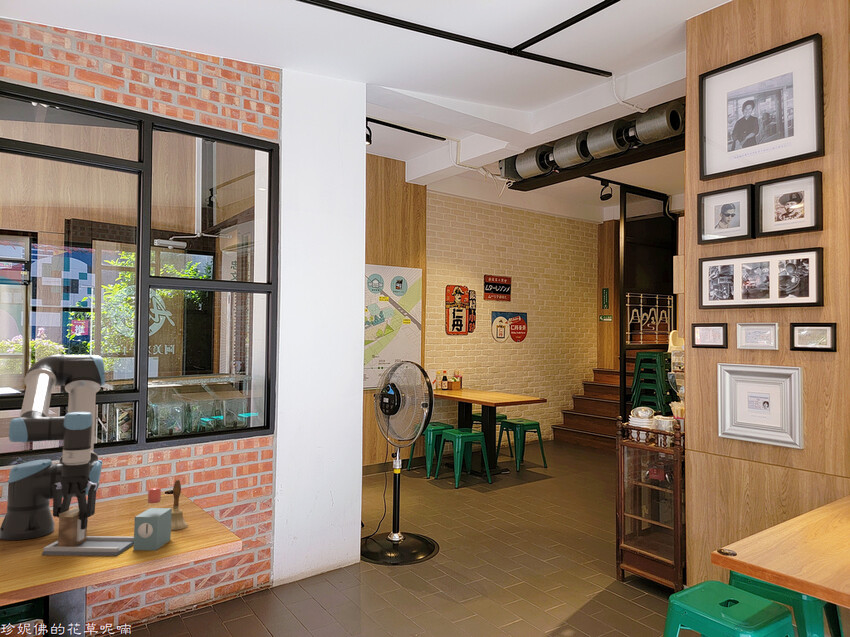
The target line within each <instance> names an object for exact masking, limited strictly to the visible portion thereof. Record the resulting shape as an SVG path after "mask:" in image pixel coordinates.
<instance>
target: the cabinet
mask: <svg viewBox="0 0 850 637" xmlns="http://www.w3.org/2000/svg"><path fill="white" fill-rule="evenodd" d="M172 509H173V507H172V508H171V507H170V508H169V507H168V508H165V507H164V508H163V507H161V508H160V507H150V508H148V509H146V510H144V511H142V512H141V513H139V514H137V515H135V516H134V524H133V525H134V527H133V528H134V529H133V537H134V545H133V551H158V550H159V549H160V548H162V547H163V546H165V544H167V543H168V542H169V541H171V539H172V538H171V532H172V530H171V514H172Z"/></svg>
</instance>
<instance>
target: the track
mask: <svg viewBox="0 0 850 637" xmlns="http://www.w3.org/2000/svg"><path fill="white" fill-rule="evenodd" d="M132 546H134V536H119V535H118V536H111V535H110V536H108V535H107V536H106V535H104V536H103V535H101V536H100V535H97V536H96V535H87V540H86V541H84V542H82V543H80V544H78V545H77V546H75V547H58V539H57V540H56V541H54V542H51V543H50V544H48V545H46V546H44V547H43V549H42V550H43V551H42V552H41V555H42V556H82V557H83V556H84V557H85V556H86V557H87V556H88V557H89V556H90V557H93V556H94V557H95V556H99V557H102V556H103V557H105V556H106V557H107V556H108V557H109V556H111V557H112V556H113V557H117V556H119V555H120V554H122V553H123V552H125V551H126V550H128V549H129V548H130V547H132Z"/></svg>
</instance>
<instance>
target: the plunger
mask: <svg viewBox="0 0 850 637" xmlns="http://www.w3.org/2000/svg"><path fill="white" fill-rule="evenodd" d="M161 494H162V488H161V487H151V488H148V491H147V503H148V504H157V503H161V497H162V495H161Z"/></svg>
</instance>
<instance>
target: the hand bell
mask: <svg viewBox="0 0 850 637" xmlns="http://www.w3.org/2000/svg"><path fill="white" fill-rule="evenodd" d="M181 492H182V486H181V481H180V479H176V480H175V481H174V484H173V487H172V495H173V505H172V506H173V507H172V514H171V531H178V530H182V529H185V528H187V527H188V526H189V524H188V523H187V522H186V520H185V519H184V513H183V509H180V508H179V502H180V501H179V500H180V496H181Z"/></svg>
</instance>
